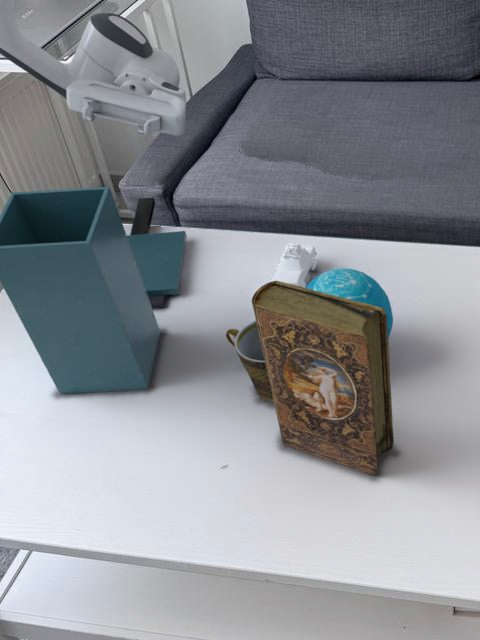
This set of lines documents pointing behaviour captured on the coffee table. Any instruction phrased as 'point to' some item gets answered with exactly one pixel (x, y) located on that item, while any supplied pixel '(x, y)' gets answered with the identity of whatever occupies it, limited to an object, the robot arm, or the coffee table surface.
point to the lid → (156, 252)
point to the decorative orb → (353, 289)
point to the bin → (78, 289)
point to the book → (327, 373)
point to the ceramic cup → (252, 358)
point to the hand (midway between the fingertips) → (114, 122)
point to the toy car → (296, 264)
